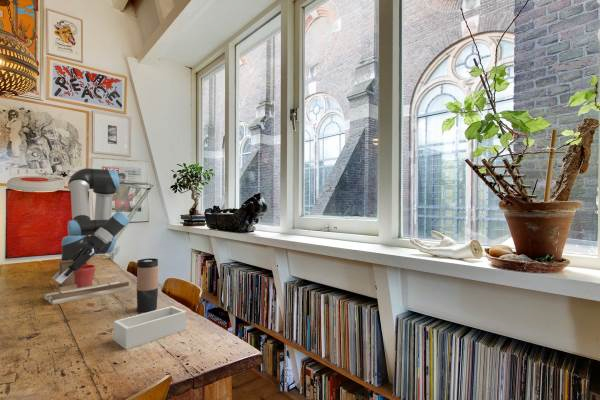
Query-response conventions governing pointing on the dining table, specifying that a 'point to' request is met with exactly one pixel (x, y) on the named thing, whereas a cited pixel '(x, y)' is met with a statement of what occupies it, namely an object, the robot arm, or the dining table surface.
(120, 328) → the white rectangular planter box
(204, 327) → the dining table surface
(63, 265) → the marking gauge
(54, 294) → the birch board
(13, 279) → the dining table surface
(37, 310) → the dining table surface
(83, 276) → the flower pot
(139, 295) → the travel mug
